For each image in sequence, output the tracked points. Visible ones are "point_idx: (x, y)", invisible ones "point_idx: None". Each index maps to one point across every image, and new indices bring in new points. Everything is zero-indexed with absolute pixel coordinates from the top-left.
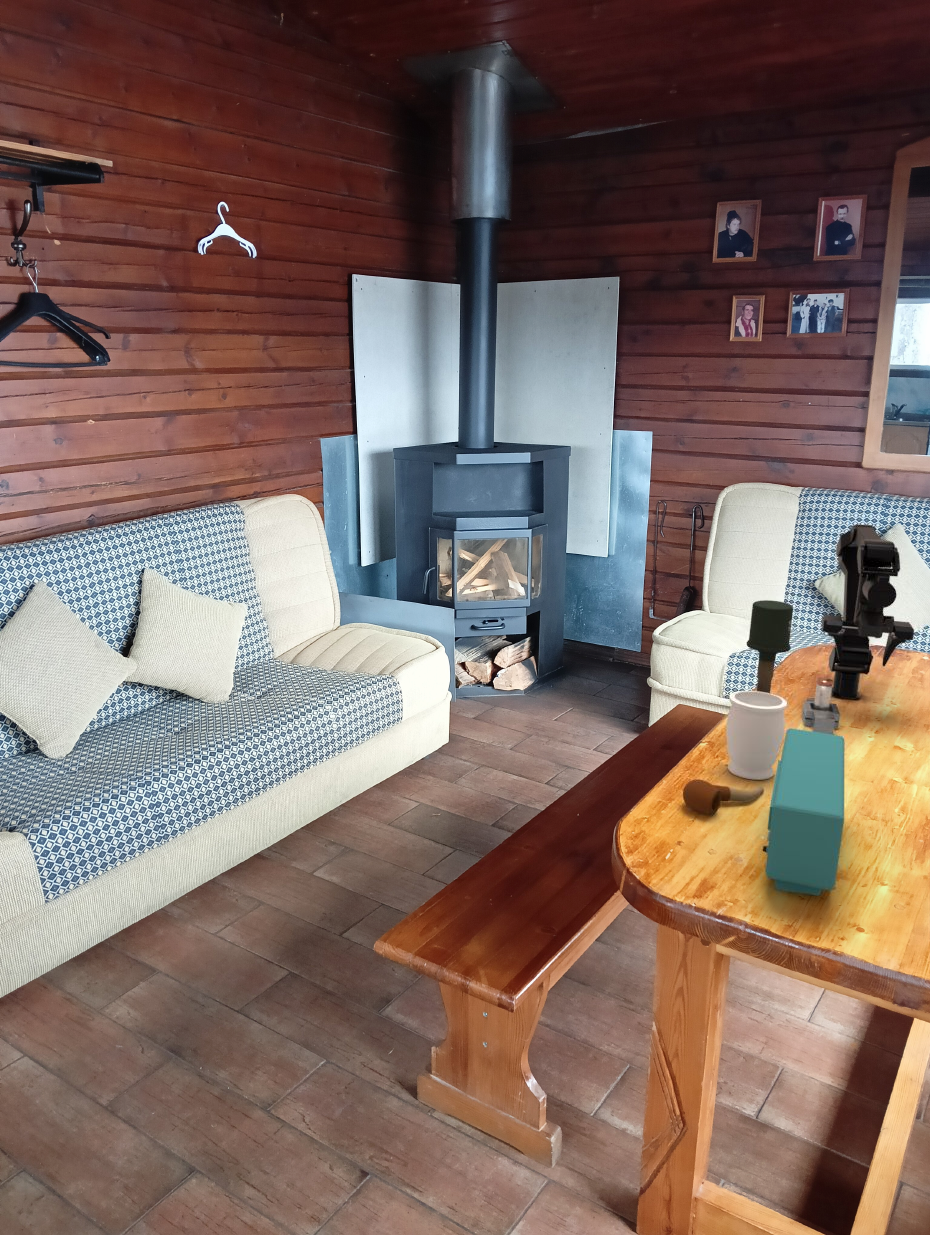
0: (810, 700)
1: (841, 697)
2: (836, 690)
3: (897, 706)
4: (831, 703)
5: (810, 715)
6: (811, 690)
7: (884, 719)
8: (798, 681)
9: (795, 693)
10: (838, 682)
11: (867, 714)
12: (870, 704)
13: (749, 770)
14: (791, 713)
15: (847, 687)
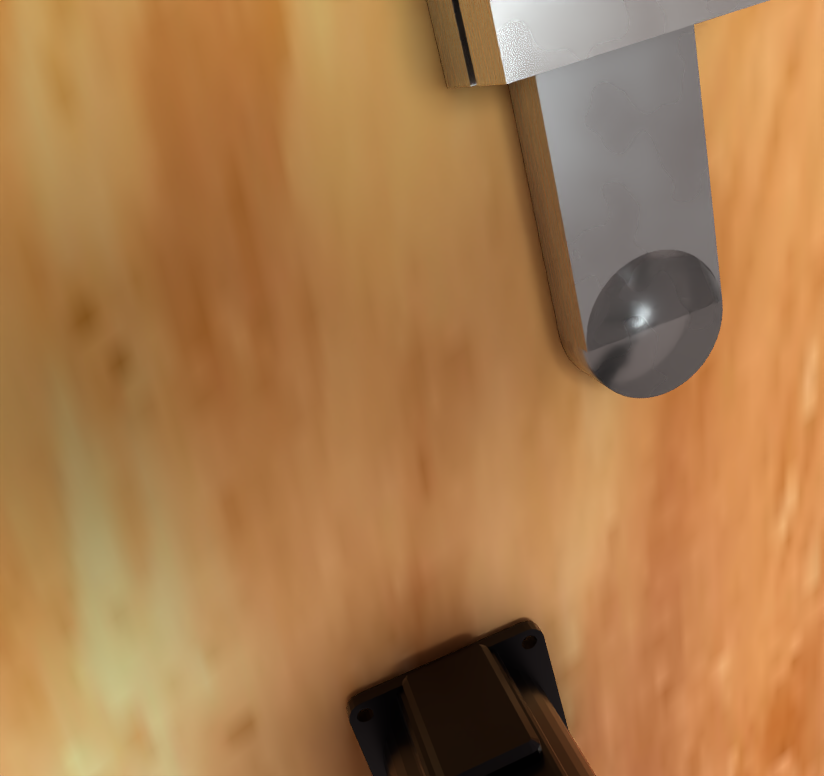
0: (694, 303)
1: (474, 645)
2: (531, 689)
3: (58, 769)
4: (553, 64)
5: None
6: (666, 653)
7: (43, 383)
8: (744, 749)
9: (757, 524)
10: (555, 741)
11: (216, 418)
12: (256, 667)
13: None
14: (780, 16)
15: (473, 712)
